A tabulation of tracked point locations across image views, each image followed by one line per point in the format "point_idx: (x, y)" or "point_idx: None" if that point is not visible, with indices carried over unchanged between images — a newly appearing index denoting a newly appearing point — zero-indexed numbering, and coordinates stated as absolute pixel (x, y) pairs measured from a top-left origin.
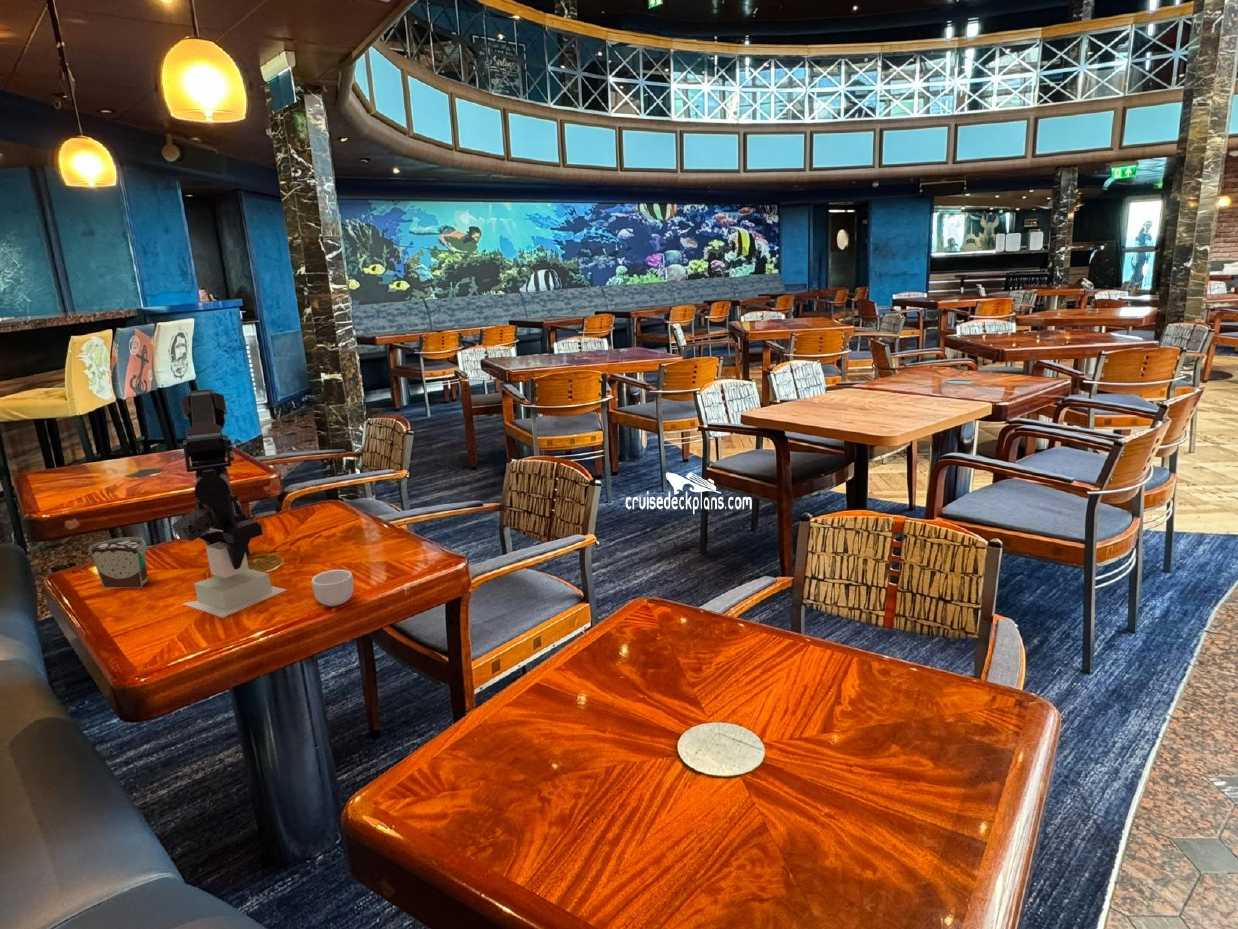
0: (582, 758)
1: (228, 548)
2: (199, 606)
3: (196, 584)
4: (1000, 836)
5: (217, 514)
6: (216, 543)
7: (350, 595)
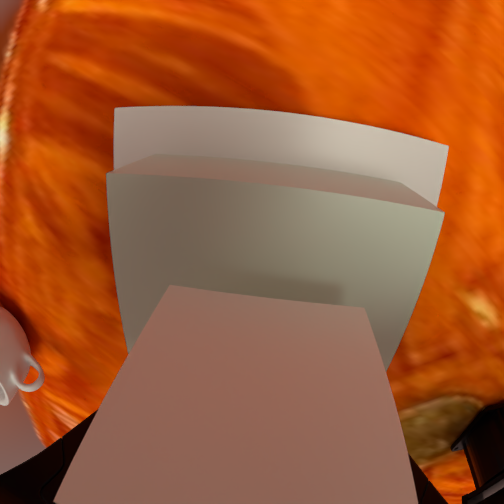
0: None
1: (32, 498)
2: (341, 140)
3: (419, 206)
4: None
5: None
6: None
7: None
